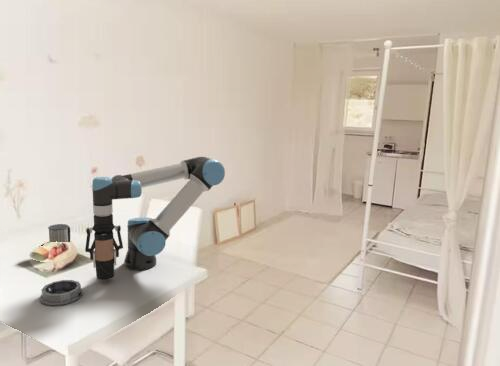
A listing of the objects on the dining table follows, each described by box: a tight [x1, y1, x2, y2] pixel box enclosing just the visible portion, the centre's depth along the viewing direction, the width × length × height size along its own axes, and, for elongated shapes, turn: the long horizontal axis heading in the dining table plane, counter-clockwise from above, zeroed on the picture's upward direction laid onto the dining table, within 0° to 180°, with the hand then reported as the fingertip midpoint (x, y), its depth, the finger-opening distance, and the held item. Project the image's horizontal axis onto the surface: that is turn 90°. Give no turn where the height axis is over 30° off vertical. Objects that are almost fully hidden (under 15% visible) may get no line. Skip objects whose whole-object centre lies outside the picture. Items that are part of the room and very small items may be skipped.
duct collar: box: [39, 279, 84, 307], centre depth 148 cm, size 15×15×4 cm
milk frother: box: [39, 223, 71, 247], centre depth 191 cm, size 14×16×15 cm
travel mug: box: [93, 230, 115, 281], centre depth 161 cm, size 8×8×20 cm
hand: (105, 265), depth 161 cm, fingers closed on travel mug, 8 cm apart
